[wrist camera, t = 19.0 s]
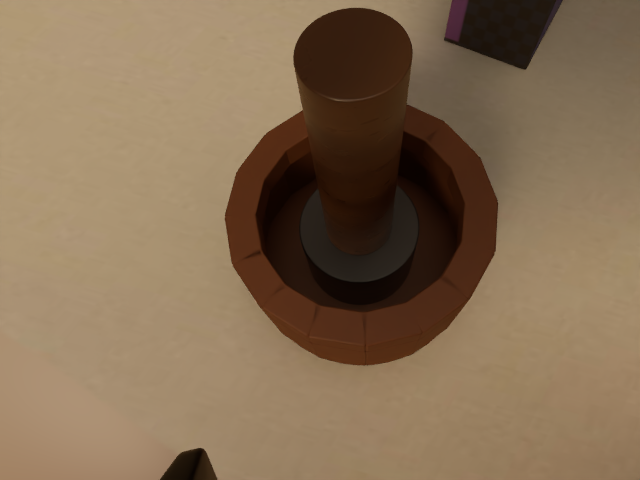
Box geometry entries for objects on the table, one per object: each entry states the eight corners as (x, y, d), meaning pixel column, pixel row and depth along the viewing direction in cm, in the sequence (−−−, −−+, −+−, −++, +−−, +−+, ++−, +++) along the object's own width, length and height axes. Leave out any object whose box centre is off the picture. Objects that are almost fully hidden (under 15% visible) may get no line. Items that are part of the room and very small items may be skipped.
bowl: (459, 383, 21) (489, 367, 16) (235, 345, 22) (195, 318, 17) (474, 178, 24) (503, 110, 19) (280, 156, 26) (258, 88, 21)
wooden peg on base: (432, 244, 22) (508, 26, 10) (371, 326, 21) (378, 189, 9) (349, 190, 24) (331, -56, 12) (287, 265, 23) (199, 76, 11)
